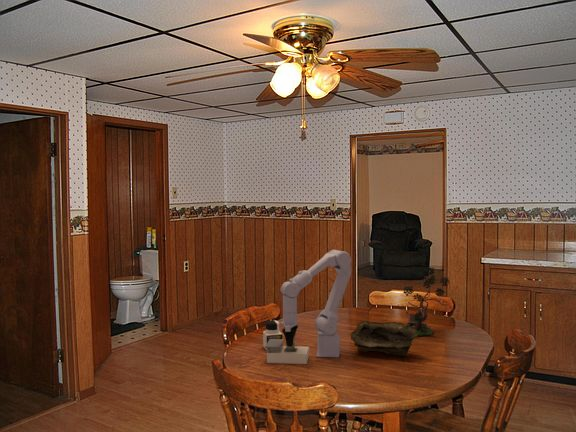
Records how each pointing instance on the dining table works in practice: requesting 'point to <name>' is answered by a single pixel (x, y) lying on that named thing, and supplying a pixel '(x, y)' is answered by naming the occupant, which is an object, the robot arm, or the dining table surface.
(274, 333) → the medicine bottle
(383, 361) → the dining table surface
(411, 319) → the bonsai tree
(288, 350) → the dowel
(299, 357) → the socket board
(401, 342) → the dark green planter
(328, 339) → the robot arm
